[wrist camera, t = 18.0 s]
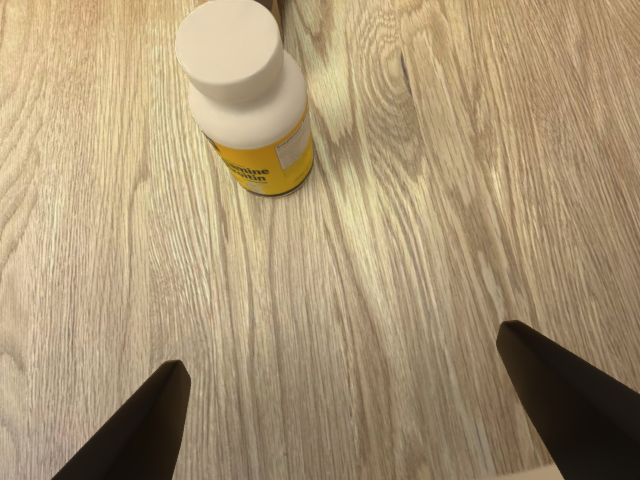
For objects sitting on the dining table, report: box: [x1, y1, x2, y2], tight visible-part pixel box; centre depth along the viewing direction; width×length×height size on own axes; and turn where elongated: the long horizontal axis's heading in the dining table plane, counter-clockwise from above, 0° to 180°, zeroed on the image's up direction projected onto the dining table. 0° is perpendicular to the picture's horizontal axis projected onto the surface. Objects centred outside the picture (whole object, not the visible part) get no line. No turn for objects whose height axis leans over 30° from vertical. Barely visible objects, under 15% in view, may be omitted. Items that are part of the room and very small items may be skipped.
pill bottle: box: [175, 0, 314, 198], centre depth 19 cm, size 6×6×12 cm
